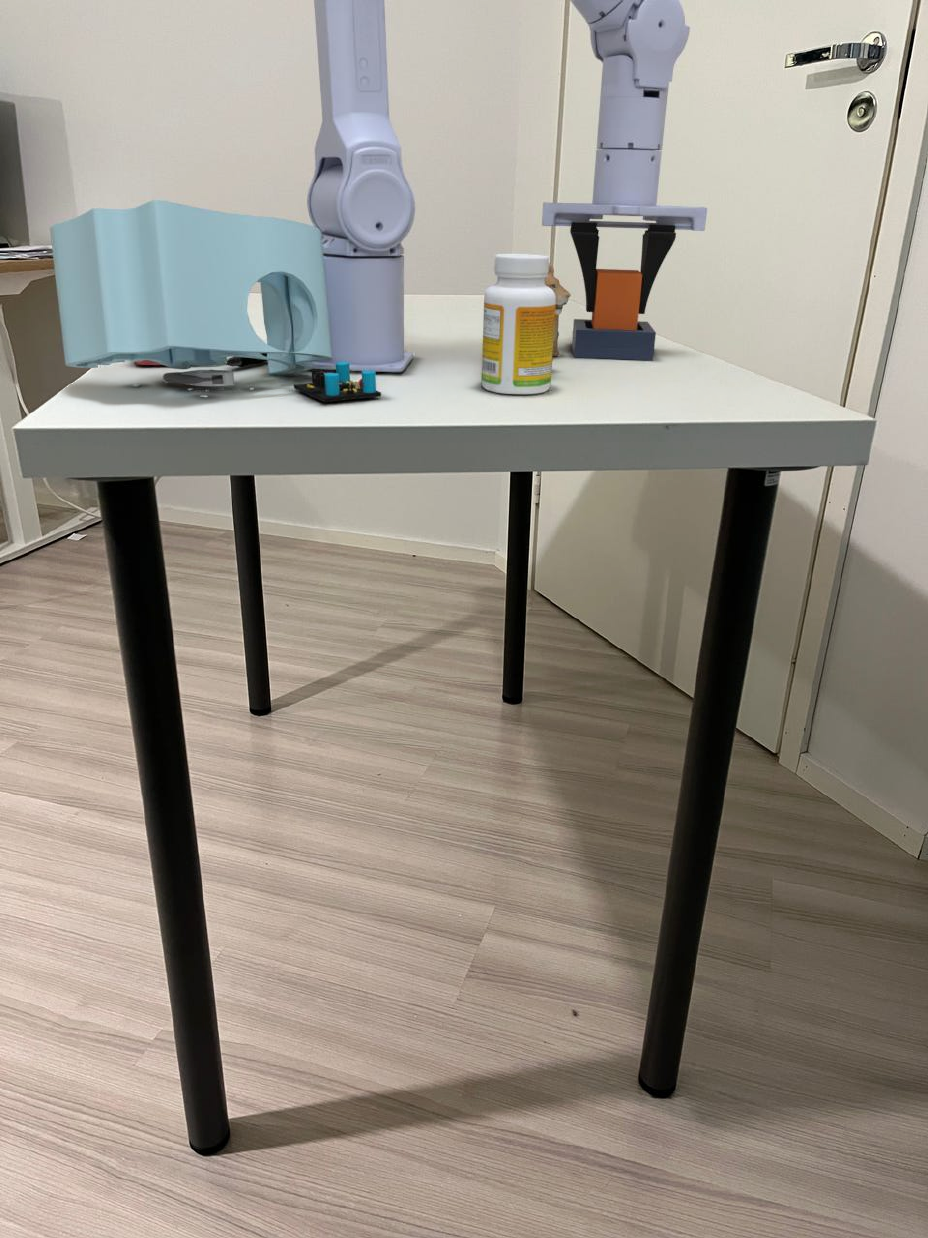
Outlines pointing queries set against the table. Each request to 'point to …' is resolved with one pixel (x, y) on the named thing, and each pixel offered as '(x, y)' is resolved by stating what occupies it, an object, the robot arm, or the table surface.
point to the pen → (245, 361)
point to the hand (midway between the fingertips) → (614, 311)
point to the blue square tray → (613, 341)
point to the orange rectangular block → (616, 299)
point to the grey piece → (201, 377)
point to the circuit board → (340, 385)
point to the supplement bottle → (518, 326)
